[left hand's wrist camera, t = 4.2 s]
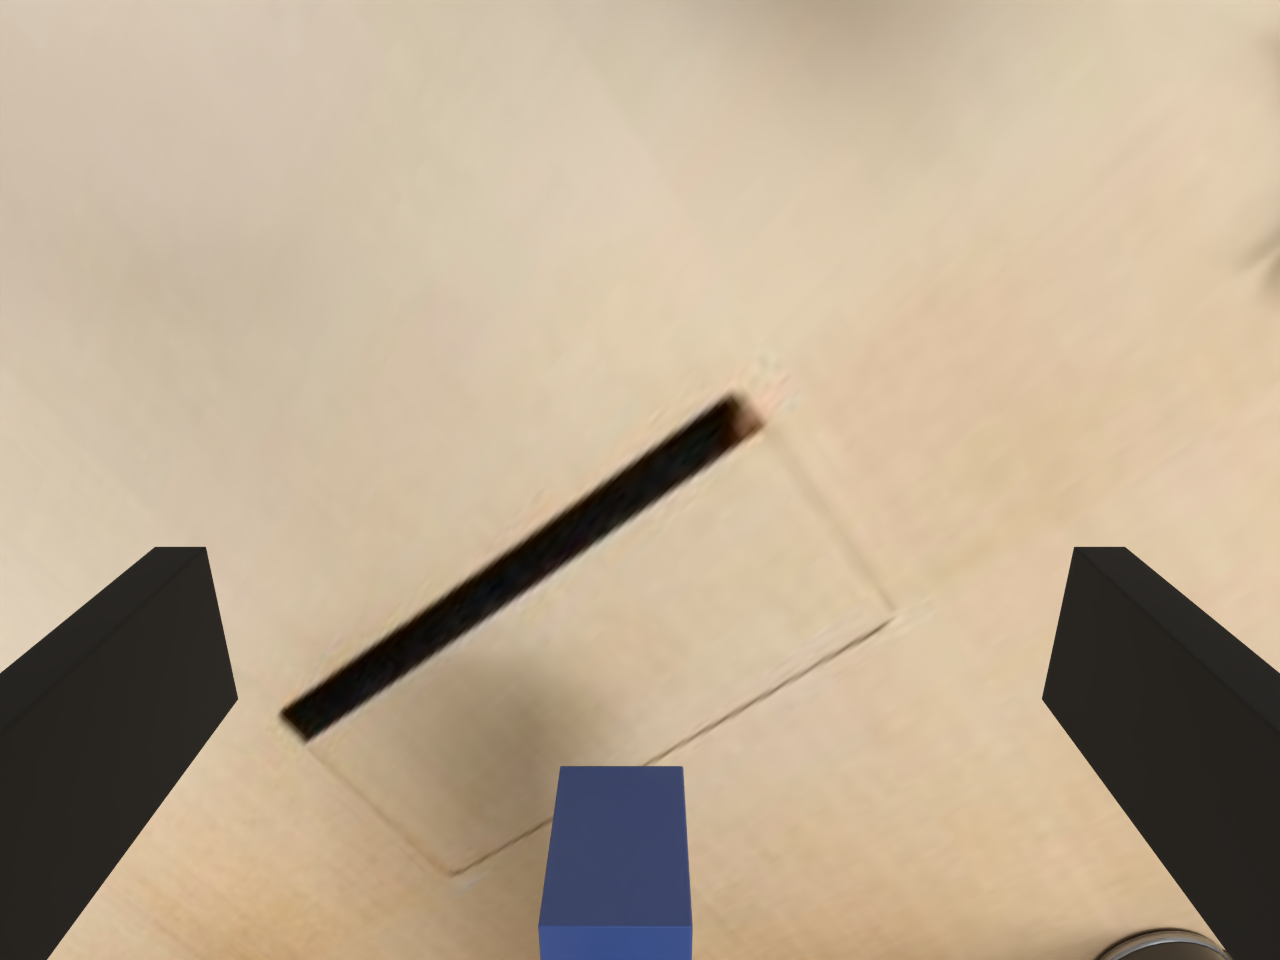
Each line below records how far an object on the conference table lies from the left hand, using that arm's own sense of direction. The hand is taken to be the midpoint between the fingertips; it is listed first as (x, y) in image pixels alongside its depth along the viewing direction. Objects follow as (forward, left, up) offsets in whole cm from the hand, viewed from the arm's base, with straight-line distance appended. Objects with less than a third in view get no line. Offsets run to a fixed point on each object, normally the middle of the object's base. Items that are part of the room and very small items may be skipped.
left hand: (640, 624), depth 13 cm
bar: (+32, -1, -19) cm, 37 cm away
